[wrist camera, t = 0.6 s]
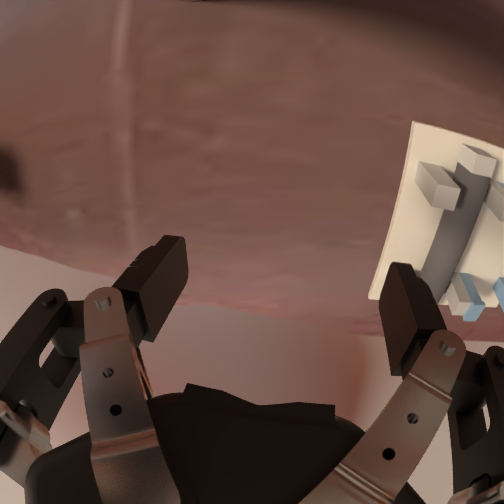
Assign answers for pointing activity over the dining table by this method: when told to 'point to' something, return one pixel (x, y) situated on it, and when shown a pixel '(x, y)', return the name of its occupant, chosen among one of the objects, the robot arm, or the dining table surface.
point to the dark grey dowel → (458, 218)
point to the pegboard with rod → (429, 215)
